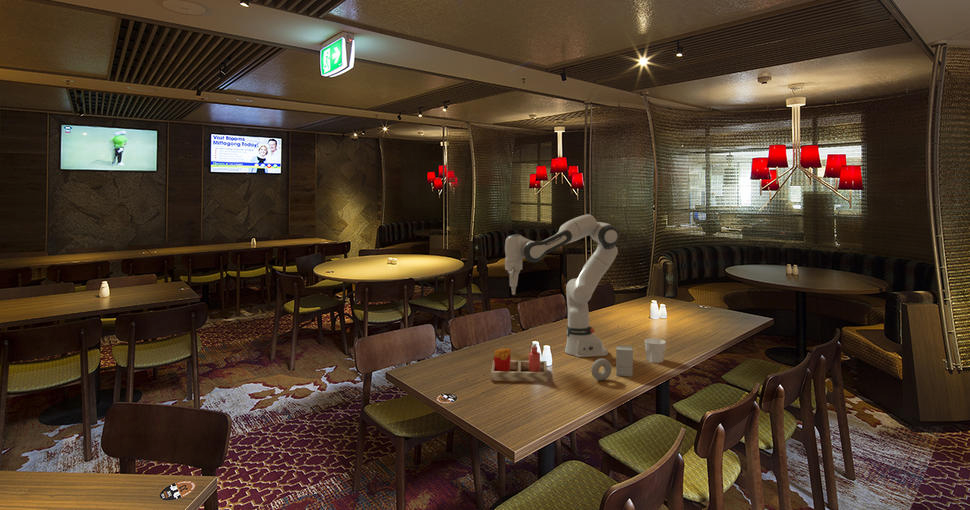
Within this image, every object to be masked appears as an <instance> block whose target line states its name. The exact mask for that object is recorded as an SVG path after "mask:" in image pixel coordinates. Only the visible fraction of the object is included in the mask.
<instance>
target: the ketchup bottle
mask: <svg viewBox="0 0 970 510" xmlns="http://www.w3.org/2000/svg"><path fill="white" fill-rule="evenodd" d="M528 361H529V370H528V372H541V370H540V361H541V353H540V352H539V351H538V346H537V343H532V346H531V352H529V353H528Z"/></svg>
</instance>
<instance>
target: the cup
mask: <svg viewBox="0 0 970 510" xmlns="http://www.w3.org/2000/svg"><path fill="white" fill-rule="evenodd" d="M644 346H645V347H644V348H645V359H646V360H645V361H647V362H650V363H655V364H659V363H663V362H664V356H665V349H666V341H665V340H664V339H662V338H661V339H660V338H654V337H653V338H652V337H651V338H646V339H644Z"/></svg>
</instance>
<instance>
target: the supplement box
mask: <svg viewBox="0 0 970 510" xmlns="http://www.w3.org/2000/svg"><path fill="white" fill-rule="evenodd" d="M615 349H616V350H615V352H616V353H615V354H616V355H615V358H616V359H615V361H616V363H615V365H616V366H615V367H616V368H615V370H616V371H615V374H616V376H620V377H621V376H622V377H630V378H632V377H633V372H634V362H633V361H634V348H633V345H622V344H621V345H620V344H617V345H616V348H615Z"/></svg>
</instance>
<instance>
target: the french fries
mask: <svg viewBox="0 0 970 510" xmlns="http://www.w3.org/2000/svg"><path fill="white" fill-rule="evenodd" d="M493 352H494V354H493V360H494V365H495V371H510V369H509V368H510V361H511V353H512V350H511V348H506V347H505V348H504V347H502V348H499V349H495V351H493Z"/></svg>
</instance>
